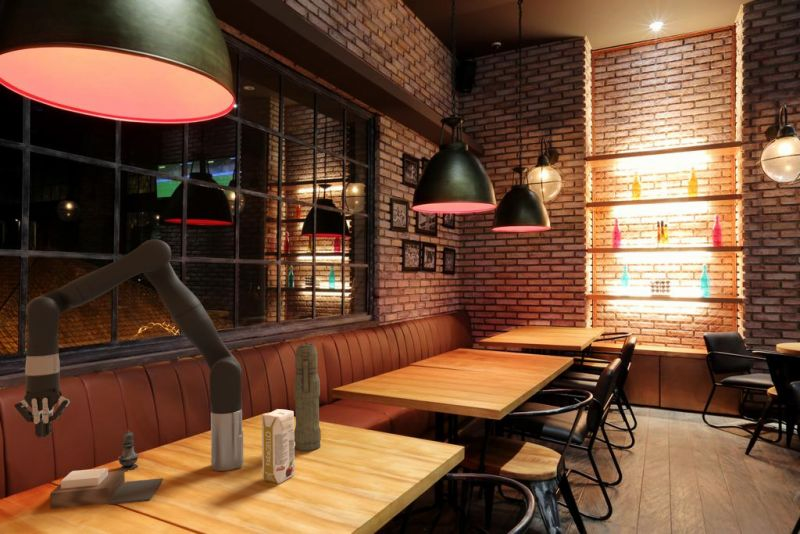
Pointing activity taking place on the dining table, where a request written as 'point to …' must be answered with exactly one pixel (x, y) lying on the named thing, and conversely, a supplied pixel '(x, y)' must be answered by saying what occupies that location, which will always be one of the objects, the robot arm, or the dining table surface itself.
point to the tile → (84, 478)
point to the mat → (136, 491)
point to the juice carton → (278, 445)
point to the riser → (88, 492)
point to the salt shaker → (128, 453)
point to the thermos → (307, 399)
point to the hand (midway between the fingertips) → (43, 436)
